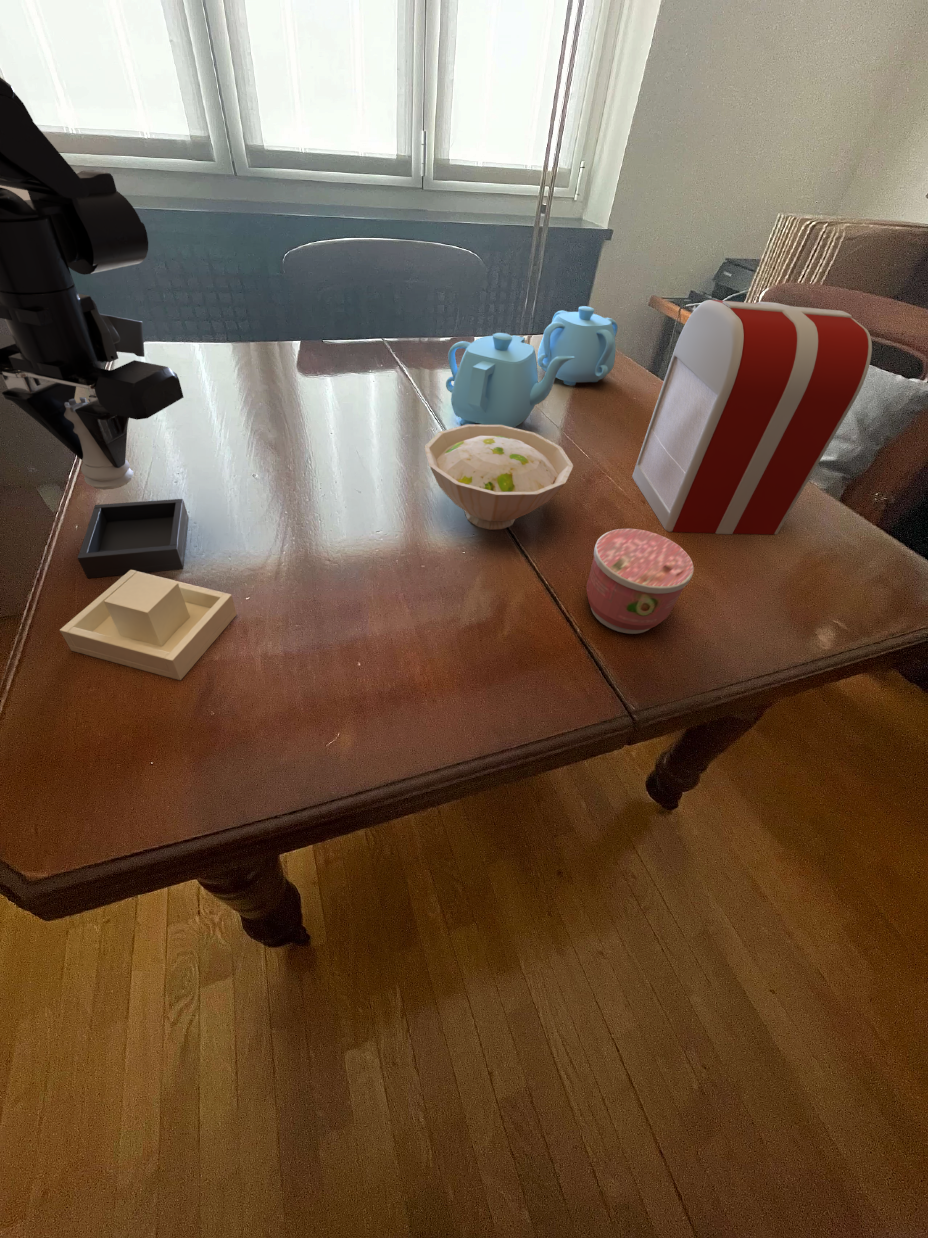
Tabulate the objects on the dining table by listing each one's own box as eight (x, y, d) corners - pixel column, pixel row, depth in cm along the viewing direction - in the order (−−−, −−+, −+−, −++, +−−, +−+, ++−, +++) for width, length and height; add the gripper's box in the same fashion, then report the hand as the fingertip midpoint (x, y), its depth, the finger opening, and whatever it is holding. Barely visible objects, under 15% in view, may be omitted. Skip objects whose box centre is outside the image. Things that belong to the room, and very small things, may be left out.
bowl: (456, 570, 66) (464, 498, 59) (400, 490, 78) (401, 423, 72) (586, 541, 73) (606, 474, 67) (516, 472, 86) (527, 409, 79)
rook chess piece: (95, 468, 57) (63, 392, 52) (140, 469, 58) (114, 394, 52) (78, 490, 54) (42, 411, 49) (126, 491, 55) (97, 413, 49)
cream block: (120, 635, 53) (103, 601, 50) (150, 606, 56) (136, 572, 53) (161, 646, 52) (147, 612, 49) (190, 616, 56) (178, 582, 52)
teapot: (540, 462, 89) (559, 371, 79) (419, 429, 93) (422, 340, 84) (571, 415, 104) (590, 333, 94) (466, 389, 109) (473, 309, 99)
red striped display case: (630, 474, 89) (692, 284, 70) (730, 478, 91) (816, 295, 72) (666, 532, 77) (752, 322, 58) (781, 535, 79) (899, 334, 61)
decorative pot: (546, 358, 127) (558, 292, 118) (614, 372, 124) (631, 306, 115) (526, 379, 116) (537, 308, 107) (600, 396, 113) (618, 324, 103)
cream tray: (71, 650, 52) (58, 629, 50) (139, 589, 59) (130, 569, 57) (180, 680, 51) (172, 660, 49) (237, 614, 57) (231, 594, 56)
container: (560, 608, 63) (576, 552, 57) (607, 571, 69) (625, 517, 64) (641, 657, 58) (667, 601, 53) (683, 612, 64) (710, 558, 59)
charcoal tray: (183, 569, 62) (176, 549, 60) (87, 578, 59) (77, 558, 57) (188, 517, 69) (183, 498, 67) (103, 524, 67) (94, 504, 65)
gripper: (197, 282, 49) (232, 446, 59) (17, 250, 51) (82, 414, 62) (108, 313, 41) (167, 496, 51) (-102, 273, 43) (-3, 457, 54)
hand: (103, 462), depth 55 cm, fingers closed on rook chess piece, 3 cm apart
